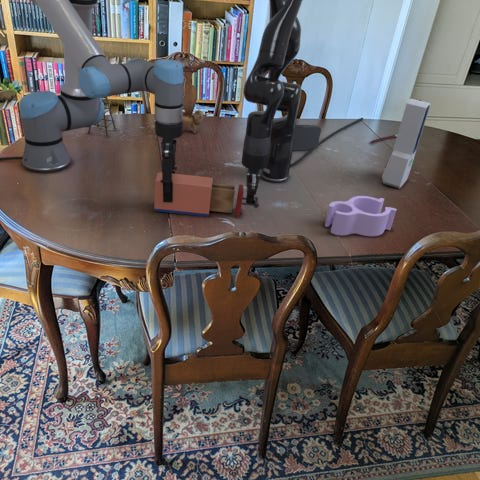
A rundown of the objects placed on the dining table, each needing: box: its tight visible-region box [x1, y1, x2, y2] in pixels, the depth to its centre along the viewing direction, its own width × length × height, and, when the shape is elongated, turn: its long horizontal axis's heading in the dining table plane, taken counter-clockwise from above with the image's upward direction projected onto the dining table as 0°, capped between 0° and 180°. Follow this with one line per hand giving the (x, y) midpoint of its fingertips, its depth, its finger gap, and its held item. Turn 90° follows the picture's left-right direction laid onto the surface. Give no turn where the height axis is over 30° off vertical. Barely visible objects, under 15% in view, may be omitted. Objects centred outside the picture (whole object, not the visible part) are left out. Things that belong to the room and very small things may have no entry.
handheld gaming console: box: [291, 124, 322, 152], centre depth 189 cm, size 23×3×10 cm, turn 108°
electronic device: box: [381, 98, 432, 189], centre depth 166 cm, size 12×8×30 cm, turn 148°
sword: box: [370, 133, 398, 145], centre depth 214 cm, size 31×3×1 cm, turn 126°
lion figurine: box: [182, 109, 204, 134], centre depth 195 cm, size 15×5×9 cm, turn 110°
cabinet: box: [153, 171, 214, 217], centre depth 139 cm, size 16×6×10 cm, turn 91°
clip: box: [324, 195, 398, 237], centre depth 141 cm, size 20×12×7 cm, turn 109°
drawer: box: [209, 182, 260, 217], centre depth 140 cm, size 20×5×8 cm, turn 91°
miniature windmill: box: [87, 97, 117, 137], centre depth 181 cm, size 9×8×30 cm
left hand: (169, 195), depth 139 cm, fingers closed on cabinet, 6 cm apart
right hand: (249, 203), depth 141 cm, fingers closed
